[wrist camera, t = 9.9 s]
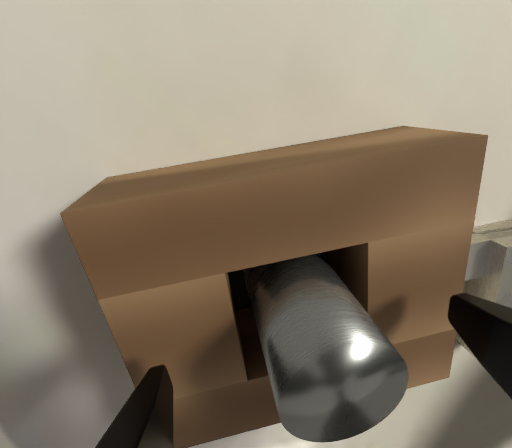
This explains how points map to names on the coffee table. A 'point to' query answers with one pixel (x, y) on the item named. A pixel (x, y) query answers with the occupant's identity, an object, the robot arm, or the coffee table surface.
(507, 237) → the grey t-shaped block
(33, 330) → the coffee table surface
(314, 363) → the cylinder
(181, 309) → the bore block
